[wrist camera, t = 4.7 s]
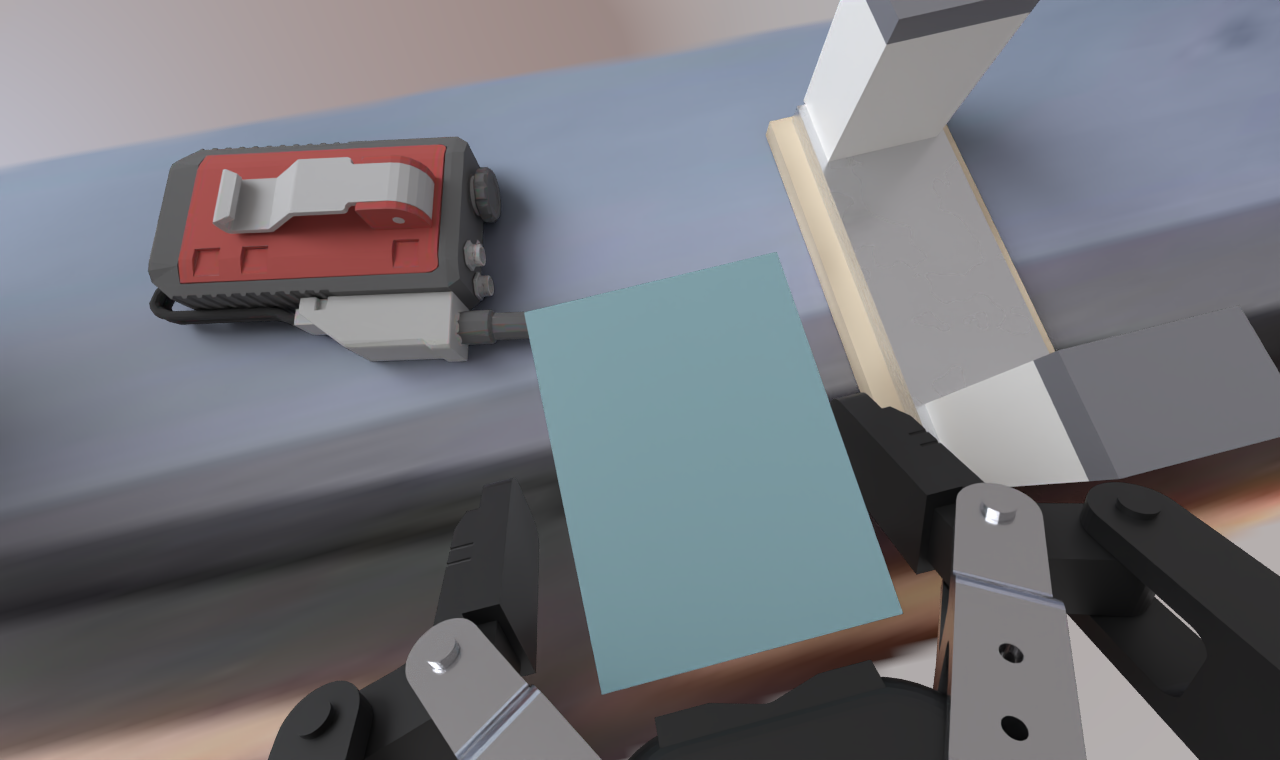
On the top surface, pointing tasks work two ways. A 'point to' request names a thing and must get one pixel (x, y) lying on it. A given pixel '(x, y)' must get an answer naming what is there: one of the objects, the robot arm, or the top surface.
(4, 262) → the top surface
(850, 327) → the wood panel
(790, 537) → the block
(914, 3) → the mounted modules
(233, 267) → the walkie-talkie
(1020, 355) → the rail
